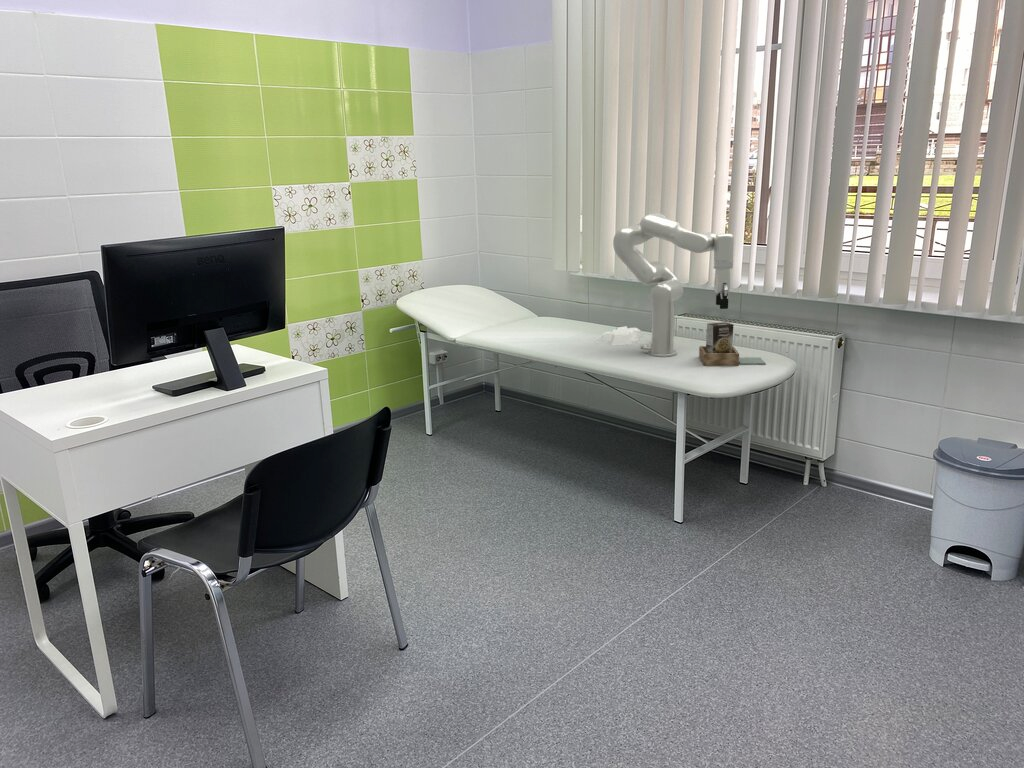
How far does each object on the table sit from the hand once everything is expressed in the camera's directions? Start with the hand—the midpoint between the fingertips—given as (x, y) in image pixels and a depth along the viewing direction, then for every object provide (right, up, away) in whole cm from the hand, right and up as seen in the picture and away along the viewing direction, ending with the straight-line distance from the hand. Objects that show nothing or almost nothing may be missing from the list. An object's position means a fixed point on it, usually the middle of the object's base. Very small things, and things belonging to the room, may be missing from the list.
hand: (721, 306), depth 309 cm
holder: (0, -22, +6) cm, 23 cm away
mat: (+13, -22, +5) cm, 26 cm away
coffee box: (0, -22, +6) cm, 23 cm away
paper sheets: (-33, -12, +50) cm, 61 cm away
